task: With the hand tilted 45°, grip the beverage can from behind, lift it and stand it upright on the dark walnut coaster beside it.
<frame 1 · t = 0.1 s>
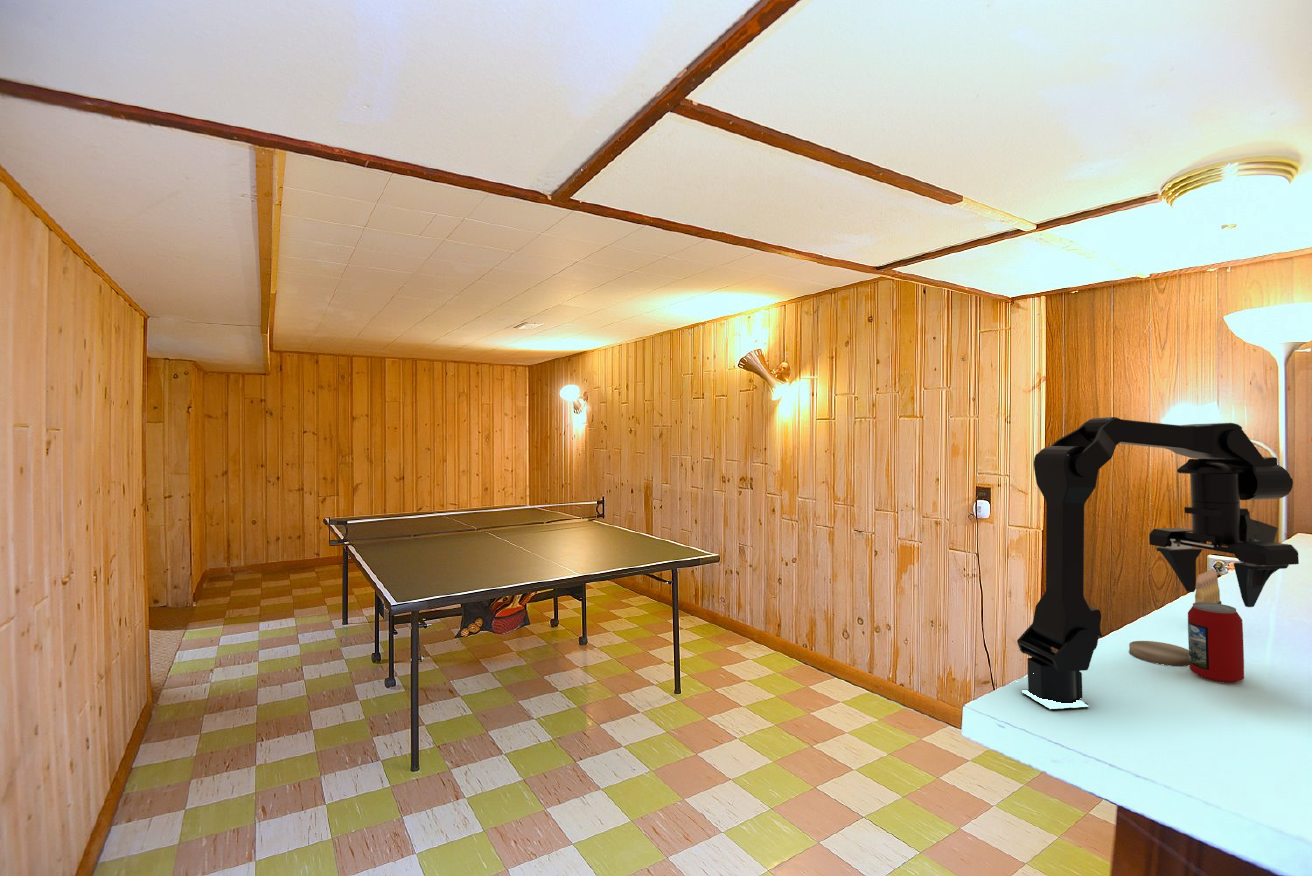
hand: (1218, 599, 95), 15 cm above the table, tool pointing down, fingers open, 9 cm apart
beverage can: (1216, 679, 100), on the table
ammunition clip: (1208, 629, 125), on the table
coaster: (1160, 657, 109), on the table
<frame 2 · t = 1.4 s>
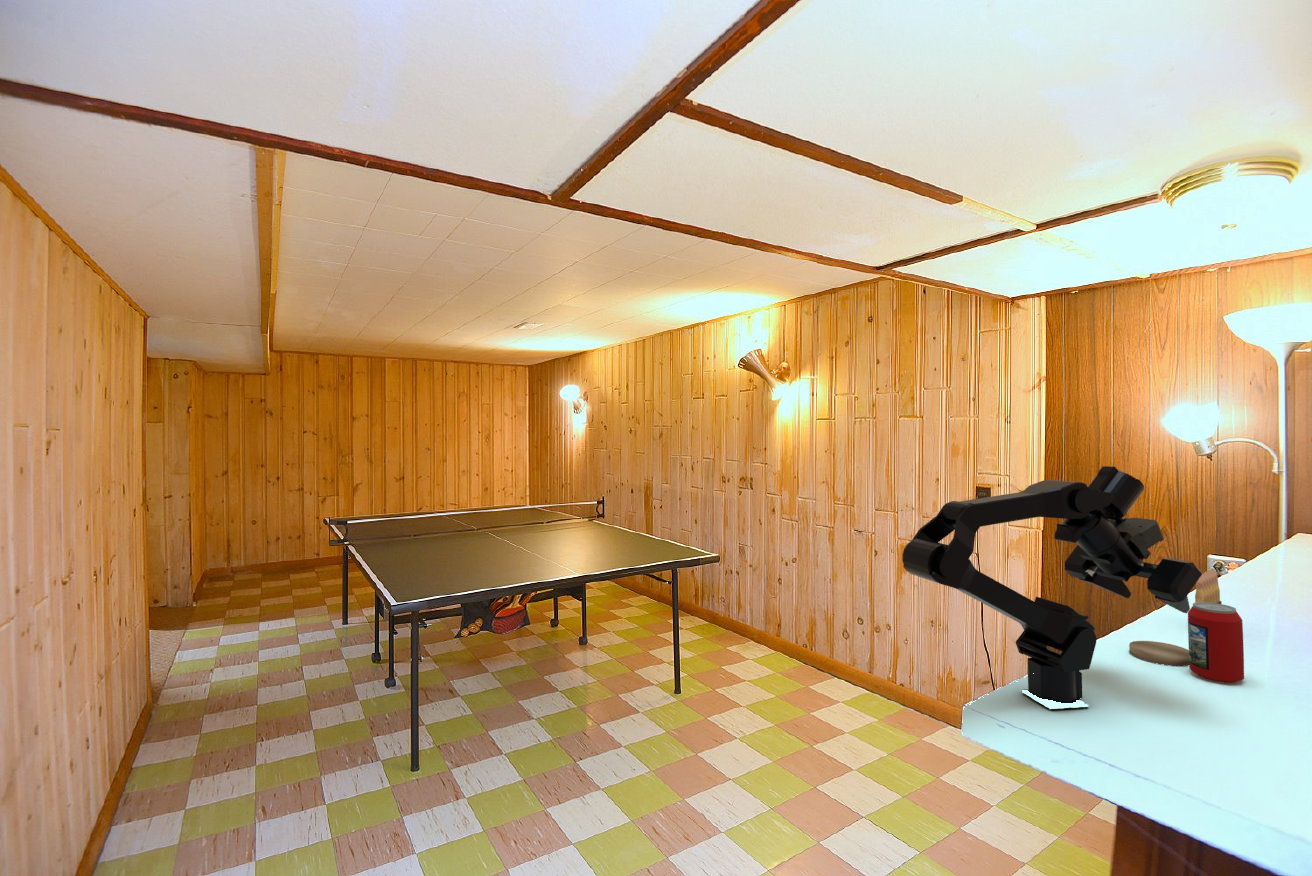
hand: (1156, 603, 97), 14 cm above the table, tool tilted 45°, fingers open, 9 cm apart
nothing on the table moved.
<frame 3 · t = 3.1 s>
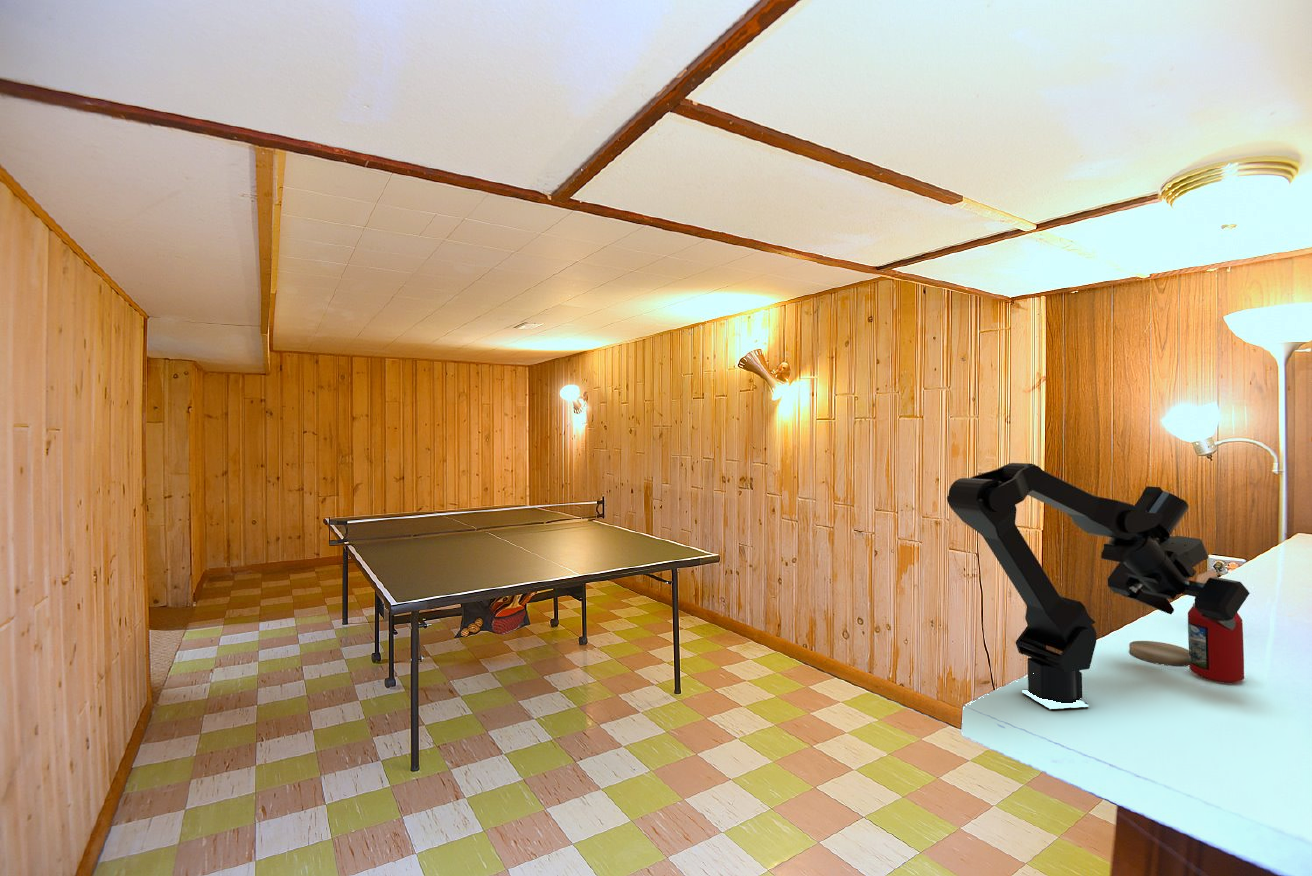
hand: (1201, 619, 99), 10 cm above the table, tool tilted 45°, fingers open, 9 cm apart
nothing on the table moved.
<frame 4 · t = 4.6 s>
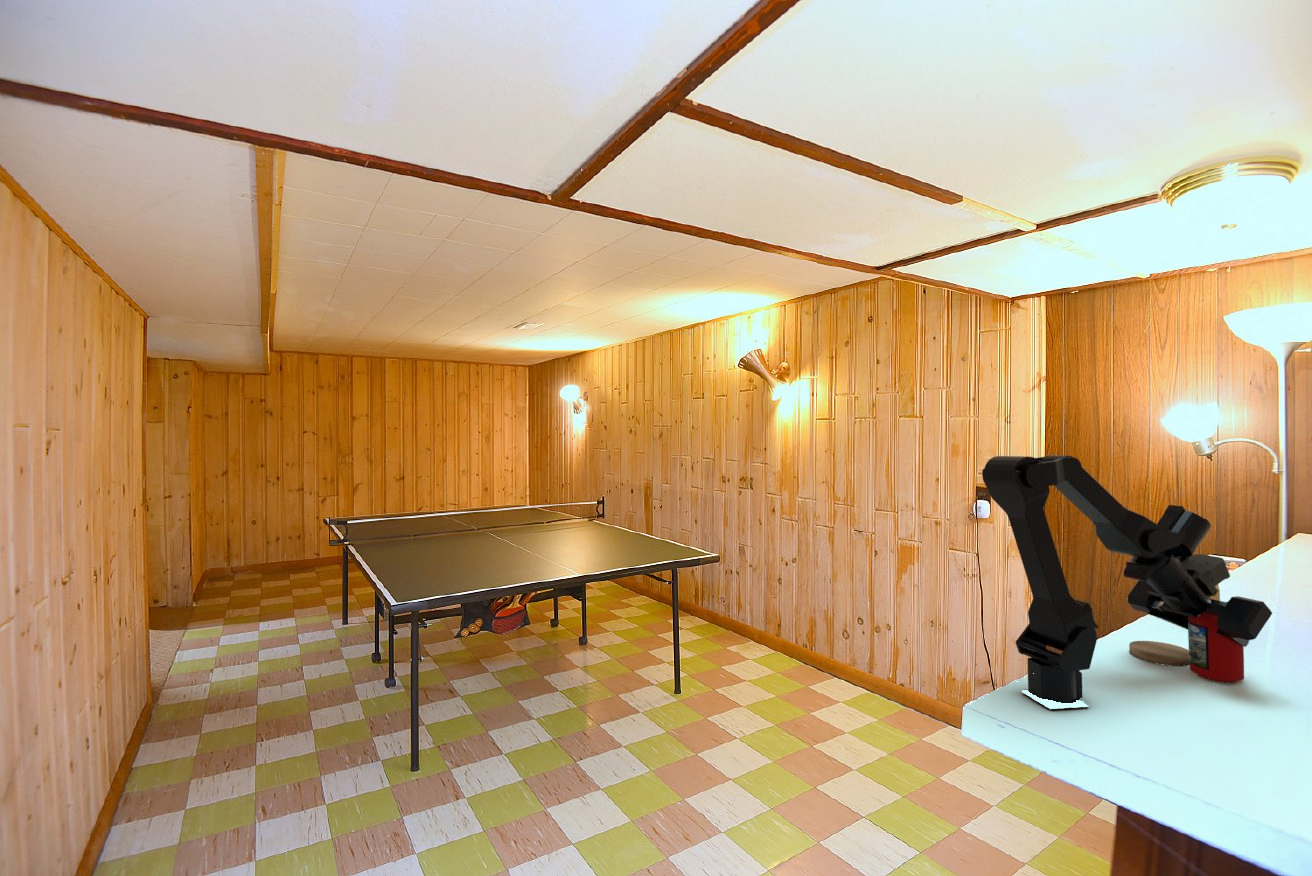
hand: (1221, 637, 100), 7 cm above the table, tool tilted 45°, fingers closed on beverage can, 7 cm apart
beverage can: (1216, 679, 100), on the table, touching gripper
everything else where it was.
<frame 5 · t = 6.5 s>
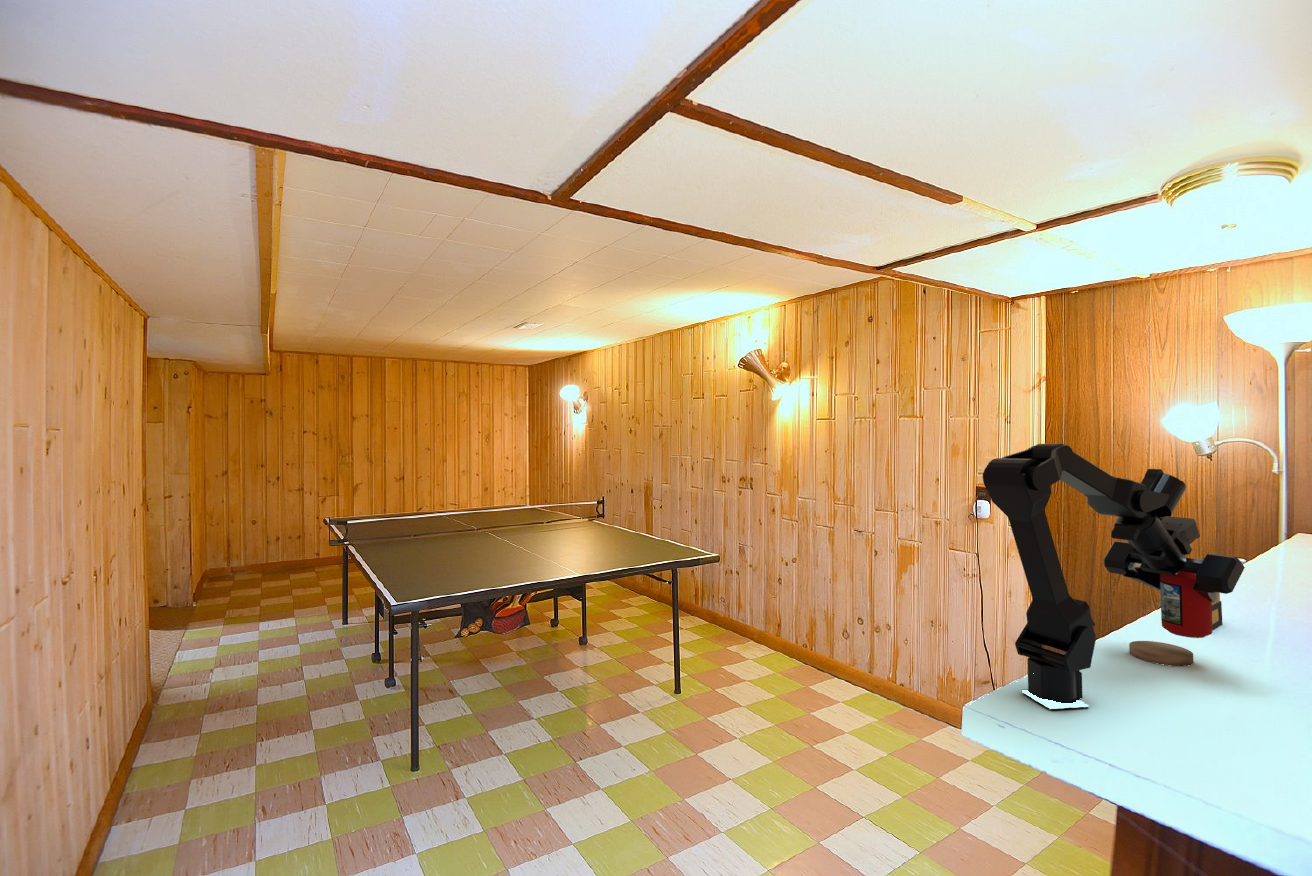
hand: (1190, 595, 105), 12 cm above the table, tool tilted 45°, fingers closed on beverage can, 7 cm apart
beverage can: (1186, 634, 105), point 6 cm above the table, touching gripper
everything else where it was.
when the fingers open (9 cm above the table, at t = 8.2 s): beverage can stays where it is, resting on coaster.
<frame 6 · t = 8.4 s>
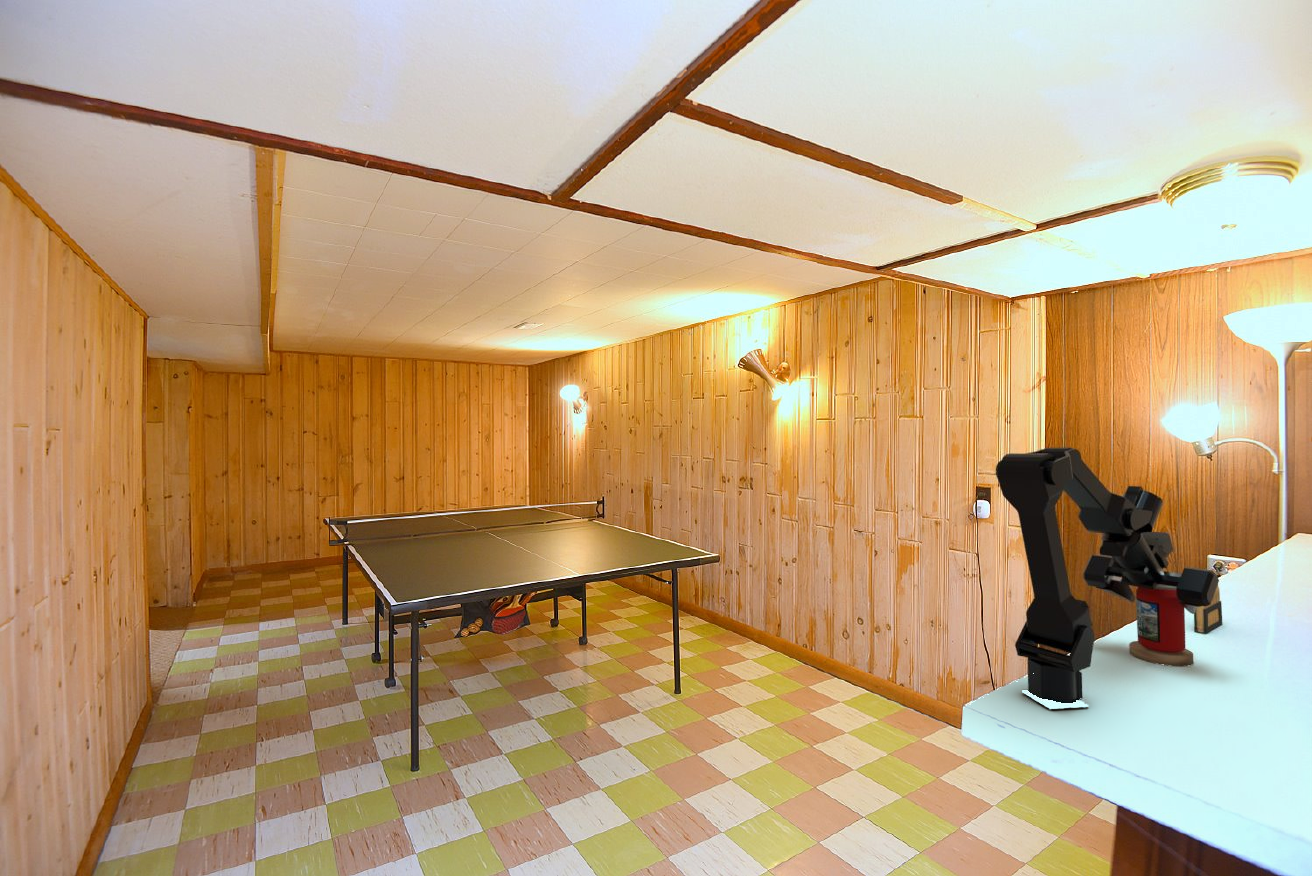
hand: (1162, 605, 110), 9 cm above the table, tool tilted 45°, fingers open, 9 cm apart
beverage can: (1161, 650, 109), point 1 cm above the table, touching coaster
everything else where it was.
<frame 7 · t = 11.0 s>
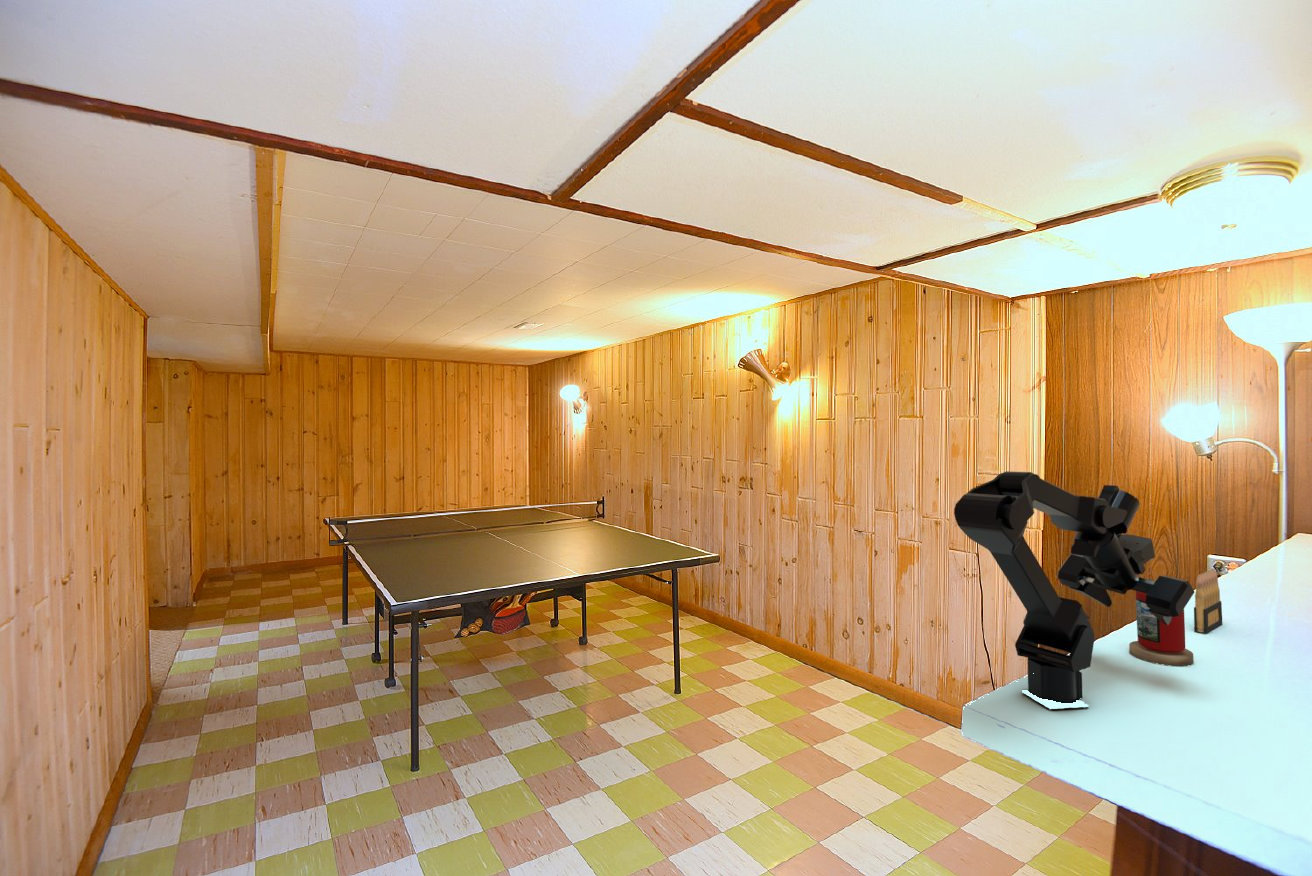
hand: (1137, 613, 105), 9 cm above the table, tool tilted 40°, fingers open, 9 cm apart
nothing on the table moved.
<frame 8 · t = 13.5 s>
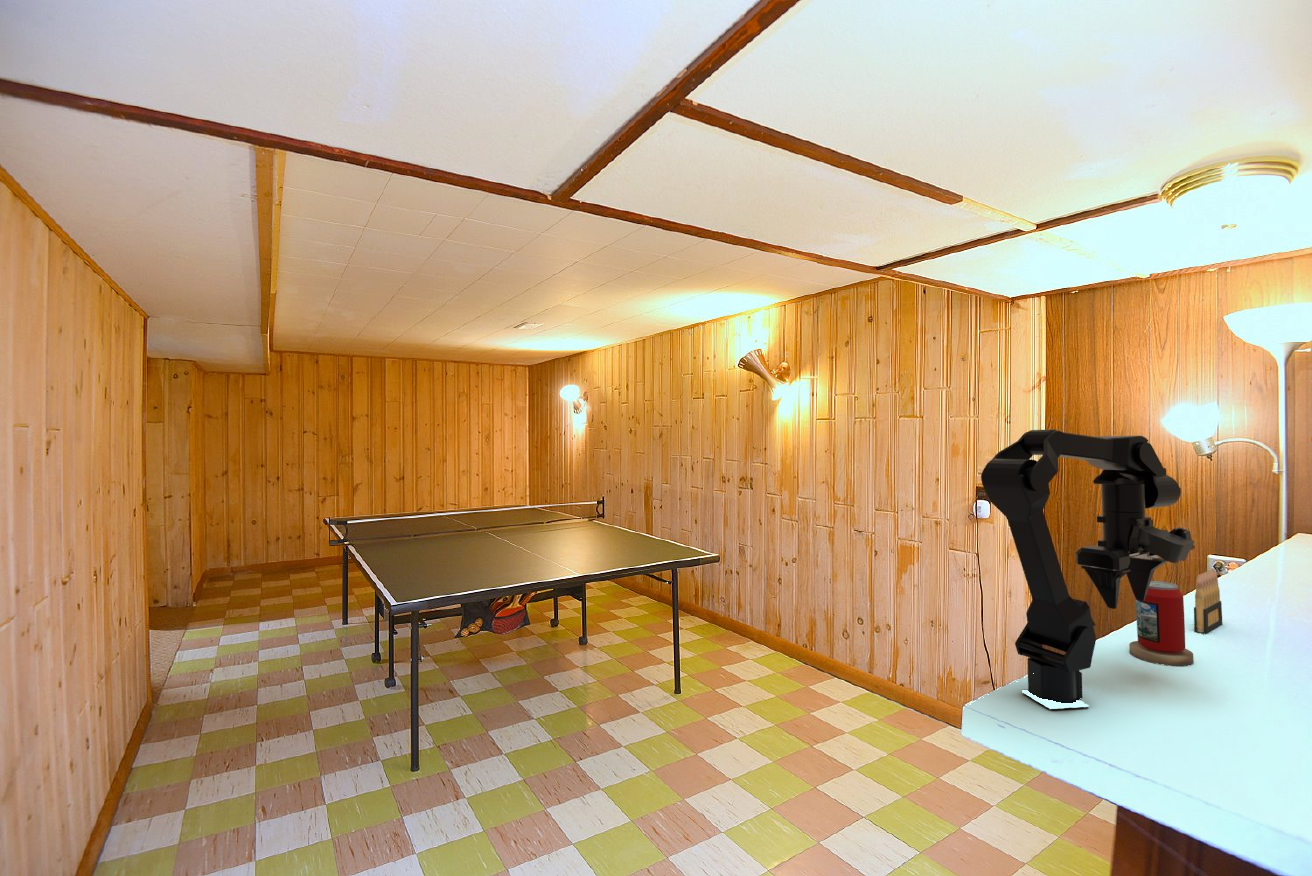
hand: (1126, 604, 99), 13 cm above the table, tool pointing down, fingers open, 9 cm apart
nothing on the table moved.
at the end: beverage can 0.3 cm off-centre on the coaster, point 1.3 cm above the coaster's base; beverage can tilted 0°; the gripper is holding nothing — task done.
